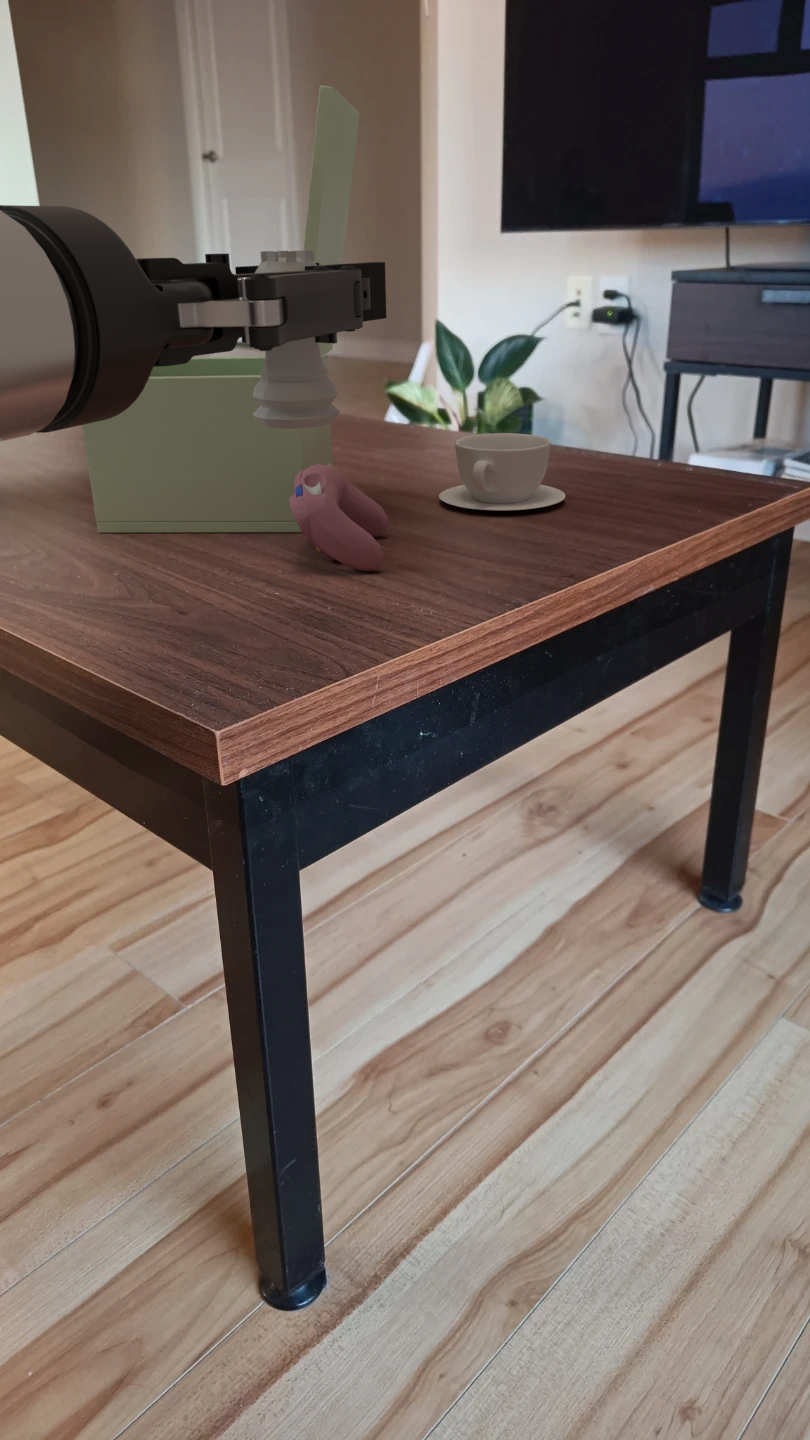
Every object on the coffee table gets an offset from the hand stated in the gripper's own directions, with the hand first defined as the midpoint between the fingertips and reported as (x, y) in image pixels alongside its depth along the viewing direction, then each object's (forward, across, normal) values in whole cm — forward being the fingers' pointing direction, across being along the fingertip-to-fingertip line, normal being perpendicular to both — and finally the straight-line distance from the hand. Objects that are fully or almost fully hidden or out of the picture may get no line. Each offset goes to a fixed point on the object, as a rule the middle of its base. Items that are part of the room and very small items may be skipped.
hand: (346, 290), depth 54 cm
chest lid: (+17, -12, +3) cm, 21 cm away
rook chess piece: (-5, 0, -6) cm, 8 cm away
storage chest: (+13, -20, -17) cm, 29 cm away
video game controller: (+6, -5, -17) cm, 19 cm away
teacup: (+24, -1, -17) cm, 30 cm away
